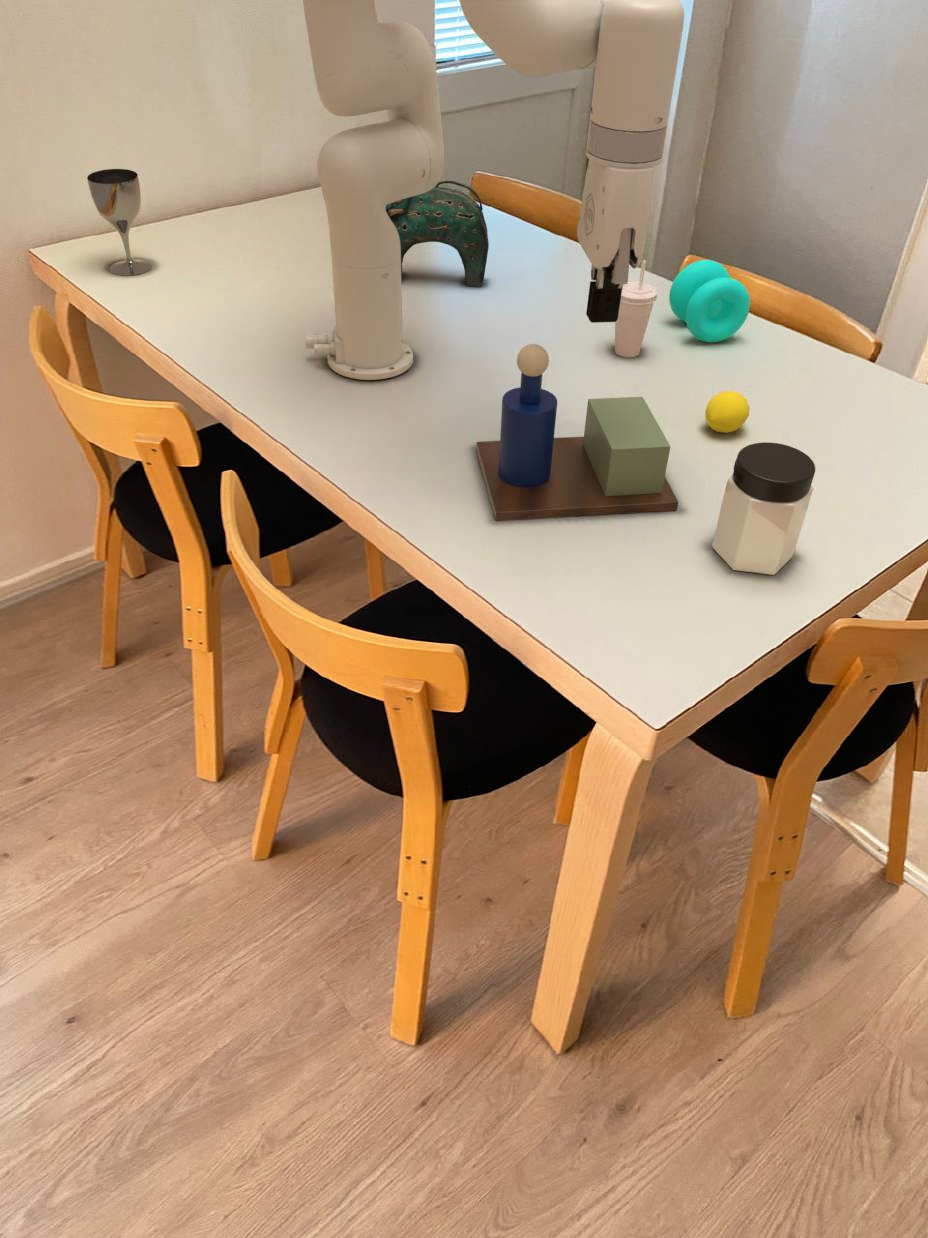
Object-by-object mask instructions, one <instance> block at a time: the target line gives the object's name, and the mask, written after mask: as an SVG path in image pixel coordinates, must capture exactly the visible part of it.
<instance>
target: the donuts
mask: <svg viewBox="0 0 928 1238" xmlns="http://www.w3.org/2000/svg"><path fill="white" fill-rule="evenodd" d="M668 296H669V297H668V302H669V306H670V308H671V311H672V312H673V314H674V315H675V316H676V317H677V318H678V319H679V320H681V321H683V322H685V324H686V326H687V329H688V331H689V332H690V334H692V336H693V337H694V338H696V339H697V340H700V341H702V342H705V343H718V342H721V341H725V340H726V339H729V338H730V337H732V336H733V335H735V333H737V332H738V331H739V330H740V329H741V327H742V326H743V325H744V323H745V322H746V320H747V317H748V316H749V313H750V307H751V299H750V294H749V292H748V289H747V288H746V287H745V285H744V284H743V283H741V282H740V281H739V280H737V279H734V278H732V277H731V276H730V274H729V272H728V270H727V269H726V267H724V266H723V265H722V264H721V263H720V262H717V261H715V260H711V259H701V260H697V261H694V262H692V263H689V264H688V265H686V266H685V267H684V268H683V269H682V270H680V271H679V273H678V274H677V275H676V276H675V278H674V279H673V282H672V284H671V286H670V290H669V295H668Z"/></svg>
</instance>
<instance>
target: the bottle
mask: <svg viewBox="0 0 928 1238" xmlns="http://www.w3.org/2000/svg"><path fill="white" fill-rule="evenodd" d="M549 363H550V356H549V354H548V352H547V350H546V349H545V348H544V347H543V346H542V345H540V344H537V343H530V344H527V345H524V346H523V347H522V348H521V349H520V350H519V352H518V353H517V357H516V364H517V365H516V366H517V368H518V369H519V371H520V372H521V373H520V386H519V387H516V388H512V389H509V390H508V391H506V392H505V393H504V394H503V395H502V398H501V401H502V402H501V416H500V417H501V418H500V433H499V434H500V435H499V441H500V451H499V469H498V473H499V476H500V478H501V479H502V480H503V481H505V482H506V483H508V484H511V485H514V486H518V487H535V486H539V485H542V484H544V483H545V482H546V481H548V479H549V478H550V473H551V463H552V453H553V443H554V438H555V431H556V420H557V411H558V410H557V409H558V398H557V397H556V395H555V394H554V393H552V392H550V391H549V390H547V389H544V388H542V385H543V374H544V373H545V372H546V371H547V369H548V367H549Z"/></svg>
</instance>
